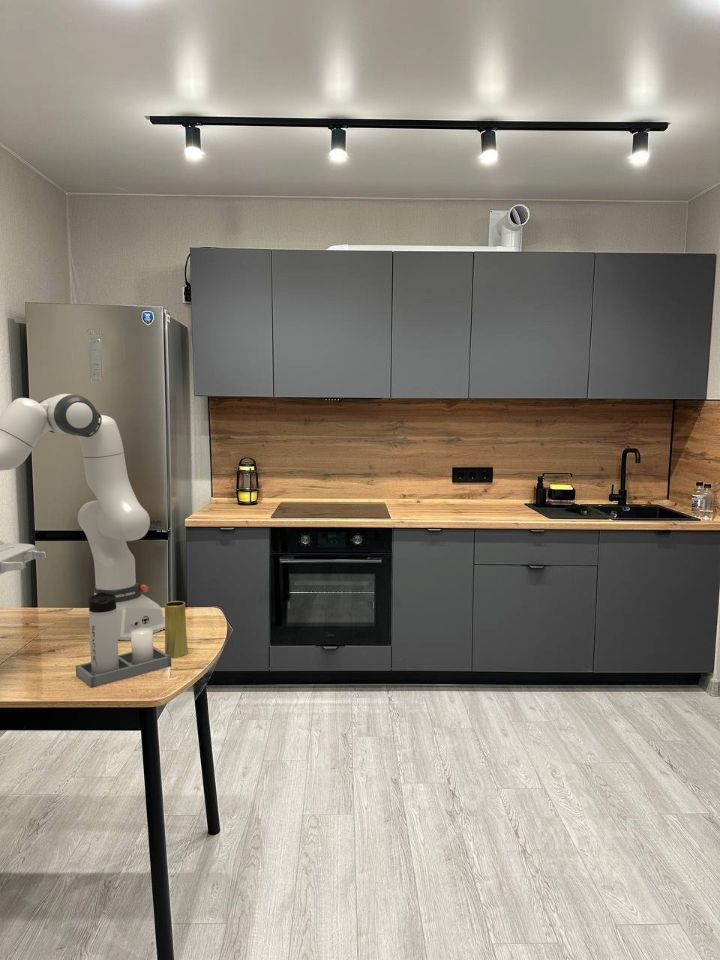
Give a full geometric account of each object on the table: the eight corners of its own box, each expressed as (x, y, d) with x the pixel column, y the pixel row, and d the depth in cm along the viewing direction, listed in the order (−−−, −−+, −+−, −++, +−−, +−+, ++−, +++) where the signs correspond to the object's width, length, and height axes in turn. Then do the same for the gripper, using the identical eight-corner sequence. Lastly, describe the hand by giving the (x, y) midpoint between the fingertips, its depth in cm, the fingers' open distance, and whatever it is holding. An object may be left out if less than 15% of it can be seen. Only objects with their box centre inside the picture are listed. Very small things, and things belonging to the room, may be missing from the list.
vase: (163, 653, 179) (162, 601, 177) (187, 650, 181) (185, 599, 180) (165, 661, 173) (163, 607, 172) (189, 658, 175) (188, 605, 174)
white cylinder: (148, 660, 172) (147, 626, 171) (157, 665, 169) (156, 631, 168) (128, 665, 169) (127, 630, 168) (137, 671, 165) (136, 636, 164)
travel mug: (117, 668, 167) (114, 590, 165) (120, 677, 161) (117, 597, 159) (90, 672, 164) (87, 593, 162) (92, 682, 158) (89, 600, 156)
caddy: (153, 657, 176) (153, 646, 176) (171, 668, 169) (170, 656, 168) (76, 677, 163) (75, 665, 162) (91, 690, 155) (91, 677, 155)
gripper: (-50, 558, 152) (9, 558, 151) (1, 539, 172) (54, 539, 171) (-48, 585, 153) (11, 585, 152) (3, 563, 173) (55, 562, 172)
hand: (34, 560), depth 162 cm, fingers open, 8 cm apart
